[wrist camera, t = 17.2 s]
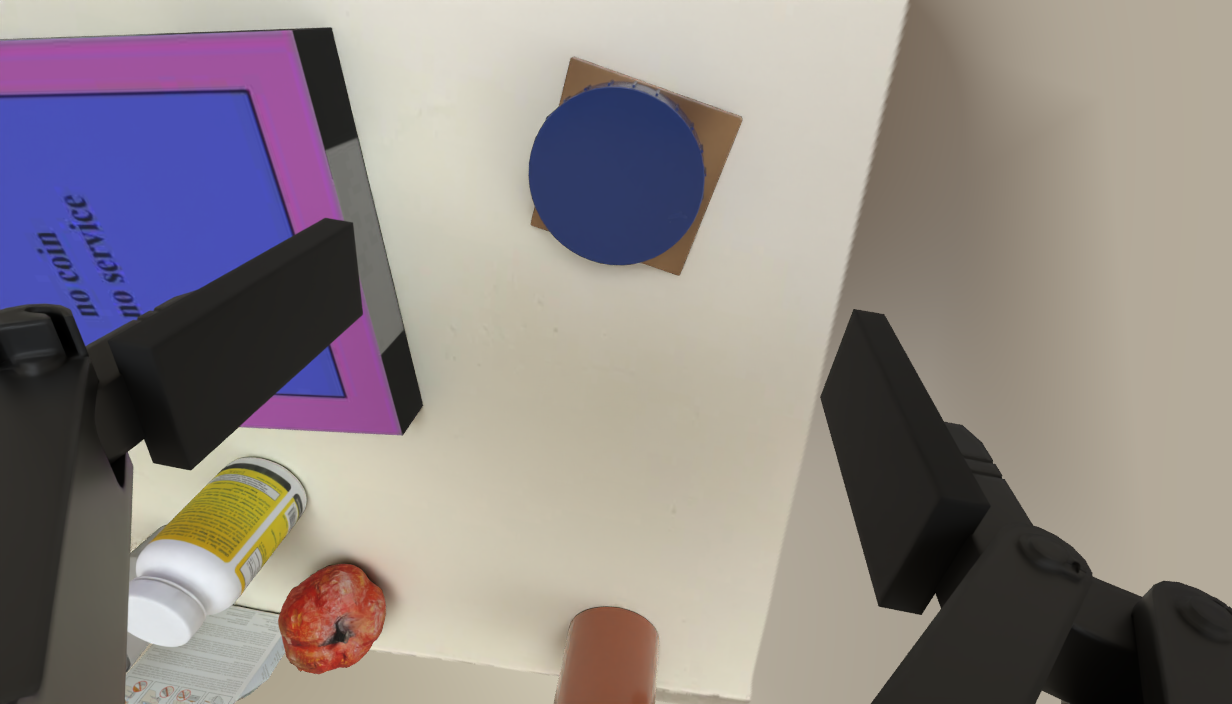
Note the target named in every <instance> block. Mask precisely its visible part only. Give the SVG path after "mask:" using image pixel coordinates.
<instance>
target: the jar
mask: <svg viewBox="0 0 1232 704" xmlns="http://www.w3.org/2000/svg"><path fill="white" fill-rule="evenodd" d="M658 649H659V637H658V633H657V631H656V629H655V628H654V626H653V625H652V624H651V623H650V622H649V621H648V620H646V619H645V618H644V617H642V616H640V615H639V614H636V613H634V612H632V611H629V610H626V609H622V608H616V607H597V608H592V609H588V610H586V611H583V612H581V613H580V614H578V615H577V616H576V617H575V618H574V619H573V620H572V622H571V624H570V627H569V632H568V636H567V641H566V646H565V651H564V656H563V661H562V665H561V670H560V675H559V680H558V685H557V690H556V694H555V700H554V704H655V697H656V681H657V665H658Z"/></svg>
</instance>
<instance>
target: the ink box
mask: <svg viewBox="0 0 1232 704" xmlns="http://www.w3.org/2000/svg"><path fill="white" fill-rule="evenodd" d="M279 615H280V614H275V613H270V612H264V611H259V610H254V609H249V608H244V607H239V606H234V605H231V606H230V607H229V608H227V609H226V610H224V611H222V612H219V613H216V614H212V615H206V619H205V621H204V622H203V624H202V625H201V627H200V628H199V629H198V631H197V632H196V633H195V634H194V635H193V637H192V638H191V639H190V640H189V641H188V642H187V643H186V644H184V645H181V646H177V647H165V646H160V645H155V644H152V646H151V647H150V648H149V649H148V650H147V651H146V653H145V654H144V655H143V656H142V657H141V658H140V659H139V661H138V662H137V663H136V664H135V665H134V666H133V667H132V668H131V669H130V671H129V672H128V673H127V674H126V682H125V704H234V703H235V702H237V701H238V700H240V699H243V698H244V697H246V696H248V695H250V694H251V693H252V692H254V691H255V690H256V689H257V688H258V687H259V686H260V685H261V684H262V683H264V682H265V681H266V680H268V679H269V677H270V675H271V674H272V672H273V670H274V669H275V667H276V666H277V664H278V663H279V661H280V660H281V658H282V657H283V655H284V654H285V649H284V645H283V641H282V635H281V633H280V630H279V625H278V619H279Z"/></svg>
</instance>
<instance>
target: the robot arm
mask: <svg viewBox="0 0 1232 704" xmlns="http://www.w3.org/2000/svg"><path fill="white" fill-rule="evenodd" d="M362 315H363V308H362V299H361V290H360V281H359V272H358V263H357V253H356V244H355V235H354V226H353V222H348V221H342V220H336V219H330V218H324V219H322V220H320V221H318V222H317V223H315V224H313V225H311V226H310V227H308V228H306V229H304V230H302V231H301V232H299V233H297V234H295V235H294V236H292V237H290V238H288V239H286V240H285V241H283V242H281V243H279V244H278V245H276V246H274V247H272V248H271V249H269V250H267V251H265V252H263V253H262V254H260V255H258V256H256V257H255V258H253V259H251V260H249V261H247V262H246V263H244V264H242V265H240V266H239V267H237V268H235V269H233V270H232V271H230V272H228V273H226V274H224V275H223V276H221V277H219V278H217V279H216V280H214V281H212V282H210V283H208V284H207V285H205V286H203V287H201V288H200V289H198V290H195V291H192V292H188V293H185V294H182V295H179V296H176V297H173V298H171V299H170V300H168V301H166V302H164V303H162V304H161V305H159V306H157V307H155V308H154V311H151V310H150V311H148V312H146V313H144V314H142V315H141V316H139V317H137V320H132V321H130V322H128V323H126V324H124V325H123V326H121V327H119V328H117V329H115V330H114V331H112V332H110V333H108V334H106V335H104V336H103V337H101V338H99V339H97V340H95V341H94V342H92V343H90V344H88V345H86V346H85V344H84V341H83V339H82V336H81V334H80V331H79V329H78V326H77V324H76V321H75V319H74V316H73V314H72V311H71V309H68V308H66V307H64V306H62V305H55V304H46V303H45V304H26V305H20V306H14V307H9V308H4V309H1V310H0V704H125V682H126V654H127V627H128V600H129V572H130V545H131V518H132V490H133V464H132V462H131V459H130V457H129V454H128V451H129V450H131V449H132V448H133V447H134V446H136V445H137V444H138V443H140V442H141V441H142V440H143V439H144V440H145V442H146V445H147V448H148V450H149V453H150V456H151V458H152V461H153V463H156V464H161V465H166V466H171V467H176V468H181V469H186V470H192V469H193V468H194V467H195V466H196V465H197V464H199V463H200V462H201V461H202V460H203V459H204V458H205V457H206V456H207V455H208V454H210V453H211V452H212V451H213V450H214V449H215V448H216V447H217V446H218V445H220V444H221V443H222V442H223V441H224V440H225V439H226V438H227V437H228V436H229V435H231V434H232V433H233V432H234V431H235V430H236V429H237V428H238V427H239V426H241V425H242V424H243V423H244V422H245V421H246V420H247V419H248V418H249V417H250V416H252V415H253V414H254V413H255V412H256V411H257V410H258V409H259V408H260V407H262V406H263V405H264V404H265V403H266V402H267V401H268V400H269V399H270V398H271V397H273V396H274V395H275V394H276V393H277V392H278V391H279V390H280V389H281V388H282V387H284V386H285V385H286V384H287V383H288V382H289V381H290V380H291V379H292V378H294V377H295V376H296V375H297V374H298V373H299V372H300V371H301V370H302V369H303V368H305V367H306V366H307V365H308V364H309V363H310V362H311V361H312V360H313V359H315V358H316V357H317V356H318V355H319V354H320V353H321V352H322V351H323V350H324V349H326V348H327V347H328V346H329V345H330V344H331V343H332V342H333V341H334V340H336V339H337V338H338V337H339V336H340V335H341V334H342V333H343V332H344V331H345V330H347V329H348V328H349V327H350V326H351V325H352V324H353V323H354V322H355V321H357V320H358V319H359V318H360V317H361V316H362ZM820 398H821V401H822V405H823V409H824V412H825V416H826V419H827V423H828V427H829V430H830V434H831V437H832V441H833V445H834V448H835V451H836V455H837V459H838V462H839V466H840V470H841V473H842V477H843V480H844V484H845V488H846V491H847V495H848V498H849V502H850V505H851V509H852V513H853V516H854V520H855V523H856V527H857V531H858V534H859V538H860V541H861V545H862V548H863V552H864V556H865V559H866V563H867V567H868V570H869V574H870V577H871V581H872V584H873V588H874V592H875V595H876V599H877V602H878V606H879V607H884V608H889V609H894V610H899V611H904V612H909V613H915V614H919V615H922V613H923V612H924V610H925V609H926V607H927V605H928V604H929V602H930V601H931V599H932V598H933V596H934V594H935V593H936V596H937V599H938V601H939V604H940V606H941V610H940V611H939V613H938V614H937V615H936V617H935V618H934V619H933V621H932V622H931V623H930V625H929V626H928V627H927V629H926V630H925V632H924V633H923V634H922V636H921V637H920V638H919V639H918V641H917V642H916V644H915V645H914V646H913V648H912V649H911V650H910V652H909V653H908V655H907V656H906V657H905V658H904V660H903V661H902V662H901V664H900V665H899V666H898V668H897V669H896V671H895V672H894V673H893V674H892V676H891V677H890V679H889V680H888V681H887V683H886V684H885V685H884V687H883V688H882V689H881V691H880V692H879V693H878V695H877V696H876V697H875V699H874V700H873V701H872V703H871V704H1035V703H1036V701H1037V699H1038V697H1039V695H1040V692H1041V691H1044V692H1046V693H1048V694H1050V695H1053V696H1055V697H1057V698H1059V699H1061V704H1232V608H1231V607H1228V606H1227V605H1226V604H1225V603H1223V602H1222V601H1220V600H1218V599H1217V598H1215V597H1212V596H1210V595H1209V594H1207V593H1205V592H1203V591H1201V590H1199V589H1197V588H1194V587H1191V586H1188V585H1185V584H1182V583H1180V582H1170V581H1162V582H1160V583H1157V584H1155V585H1153V587H1152V588H1151V589H1150V590H1149V591H1148V592H1147V593H1146V594H1145V595H1144V596H1143V597H1141V596H1138V595H1136V594H1134V593H1131V592H1129V591H1126V590H1124V589H1121V588H1119V587H1116V586H1114V585H1111V584H1109V583H1106V582H1104V581H1102V580H1099V579H1097V578H1095V577H1093V576H1092V572H1091V570H1090V568H1089V566H1088V565H1087V563H1086V561H1085V559H1084V558H1083V557H1082V556H1081V555H1080V554H1079V553H1078V552H1077V551H1076V550H1075V549H1074V548H1073V547H1072V546H1070V545H1069V544H1068V543H1066V542H1065V541H1063V540H1062V539H1060V538H1059V537H1057V536H1056V535H1054V534H1052V533H1050V532H1048V531H1046V530H1044V529H1042V528H1039V527H1036V526H1033V524H1032V523H1031V521H1030V520H1029V518H1028V516H1027V515H1026V513H1025V511H1024V510H1023V508H1022V507H1021V505H1020V503H1019V502H1018V500H1017V499H1016V497H1015V495H1014V494H1013V492H1012V490H1011V489H1010V487H1009V485H1008V484H1007V482H1006V481H1005V479H1002V474H1001V473H1000V471H999V469H998V468H997V466H996V464H993V460H992V458H991V456H990V455H989V453H988V451H987V450H986V448H985V447H984V445H983V443H982V442H981V441H980V440H979V439H977V438H976V437H975V436H974V435H973V434H972V433H971V432H969V431H968V430H967V429H966V428H965V427H964V426H963V425H959V424H953V423H948V422H944V421H943V419H942V417H941V416H940V414H939V412H938V410H937V408H936V407H935V405H934V403H933V401H932V399H931V398H930V396H929V394H928V392H927V390H926V389H925V387H924V385H923V383H922V381H921V380H920V378H919V376H918V374H917V373H916V371H915V369H914V367H913V365H912V364H911V362H910V360H909V358H908V356H907V354H906V353H905V351H904V349H903V347H902V346H901V344H900V342H899V340H898V338H897V337H896V335H895V333H894V331H893V329H892V327H891V326H890V324H889V322H888V320H887V318H886V317H885V315H884V314H879V313H874V312H868V311H862V310H856V309H854V310H853V312H852V315H851V318H850V320H849V323H848V325H847V328H846V331H845V333H844V336H843V338H842V342H841V344H840V347H839V349H838V352H837V354H836V357H835V360H834V362H833V365H832V368H831V370H830V373H829V376H828V378H827V381H826V383H825V386H824V389H823V392H822V394H821V397H820Z"/></svg>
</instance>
